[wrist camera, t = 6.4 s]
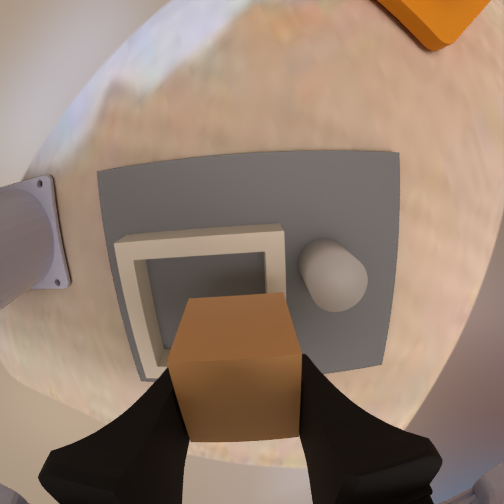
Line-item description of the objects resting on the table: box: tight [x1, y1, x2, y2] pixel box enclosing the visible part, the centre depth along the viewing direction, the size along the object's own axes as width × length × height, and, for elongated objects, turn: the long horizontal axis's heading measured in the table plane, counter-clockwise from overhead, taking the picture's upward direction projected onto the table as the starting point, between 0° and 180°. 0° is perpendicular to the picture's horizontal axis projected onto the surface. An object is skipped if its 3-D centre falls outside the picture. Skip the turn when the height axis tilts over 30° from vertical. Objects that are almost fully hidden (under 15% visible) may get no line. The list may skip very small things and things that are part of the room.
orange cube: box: [167, 292, 302, 442], centre depth 11 cm, size 4×4×4 cm
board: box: [97, 151, 400, 382], centre depth 17 cm, size 18×15×4 cm
